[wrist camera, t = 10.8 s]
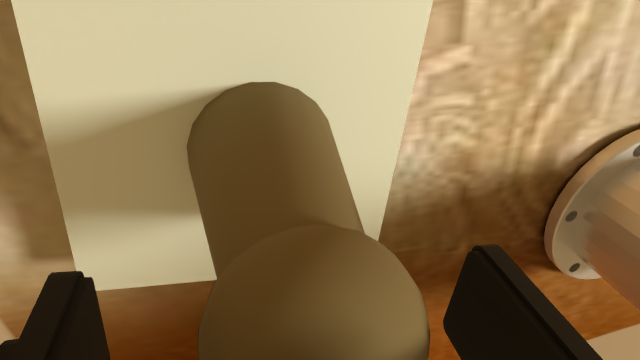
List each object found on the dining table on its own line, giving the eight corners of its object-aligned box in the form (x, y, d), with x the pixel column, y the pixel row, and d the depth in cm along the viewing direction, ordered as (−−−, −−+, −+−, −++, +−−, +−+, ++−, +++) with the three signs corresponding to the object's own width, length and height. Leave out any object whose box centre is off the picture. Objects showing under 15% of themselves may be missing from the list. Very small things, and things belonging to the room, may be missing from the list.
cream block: (404, -29, 18) (438, -22, 15) (354, 231, 25) (372, 265, 22) (29, -72, 14) (-7, -71, 12) (95, 248, 21) (81, 292, 19)
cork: (337, 196, 19) (461, 437, 10) (206, 224, 18) (215, 519, 9) (327, 69, 16) (497, 259, 7) (167, 95, 15) (121, 356, 6)
